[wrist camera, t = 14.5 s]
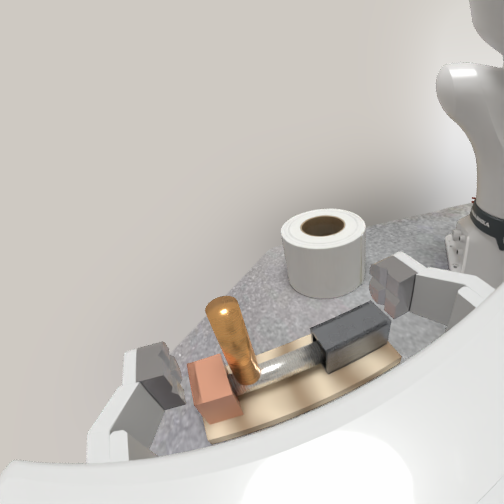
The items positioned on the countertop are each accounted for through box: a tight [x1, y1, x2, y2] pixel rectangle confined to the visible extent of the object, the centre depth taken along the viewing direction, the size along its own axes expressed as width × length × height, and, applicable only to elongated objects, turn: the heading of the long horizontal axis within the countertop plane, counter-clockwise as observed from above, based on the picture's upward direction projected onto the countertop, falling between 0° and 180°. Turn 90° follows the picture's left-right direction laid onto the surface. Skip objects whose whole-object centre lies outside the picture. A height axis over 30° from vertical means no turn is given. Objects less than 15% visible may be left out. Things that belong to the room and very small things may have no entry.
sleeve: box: [310, 301, 391, 375], centre depth 34 cm, size 10×5×5 cm, turn 106°
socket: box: [187, 354, 244, 424], centre depth 31 cm, size 4×7×5 cm
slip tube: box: [205, 296, 326, 396], centre depth 30 cm, size 16×3×14 cm, turn 106°
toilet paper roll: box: [281, 209, 366, 299], centre depth 51 cm, size 16×15×11 cm
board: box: [202, 334, 402, 444], centre depth 35 cm, size 27×11×2 cm, turn 106°
